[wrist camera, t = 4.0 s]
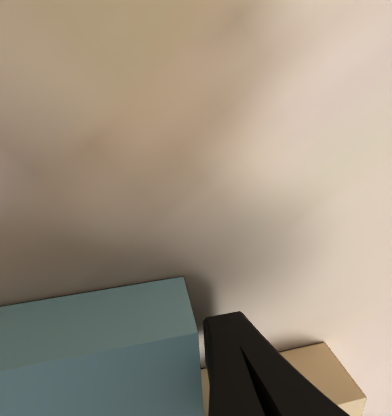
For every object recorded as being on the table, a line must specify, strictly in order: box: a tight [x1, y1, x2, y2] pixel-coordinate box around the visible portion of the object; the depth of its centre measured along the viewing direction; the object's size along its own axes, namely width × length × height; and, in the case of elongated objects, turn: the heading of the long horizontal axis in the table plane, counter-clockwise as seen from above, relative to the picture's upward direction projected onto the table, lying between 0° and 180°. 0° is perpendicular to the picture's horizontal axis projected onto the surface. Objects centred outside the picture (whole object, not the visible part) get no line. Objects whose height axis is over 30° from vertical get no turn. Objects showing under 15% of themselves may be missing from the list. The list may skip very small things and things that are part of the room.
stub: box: [0, 277, 204, 416], centre depth 9 cm, size 4×6×2 cm, turn 95°
